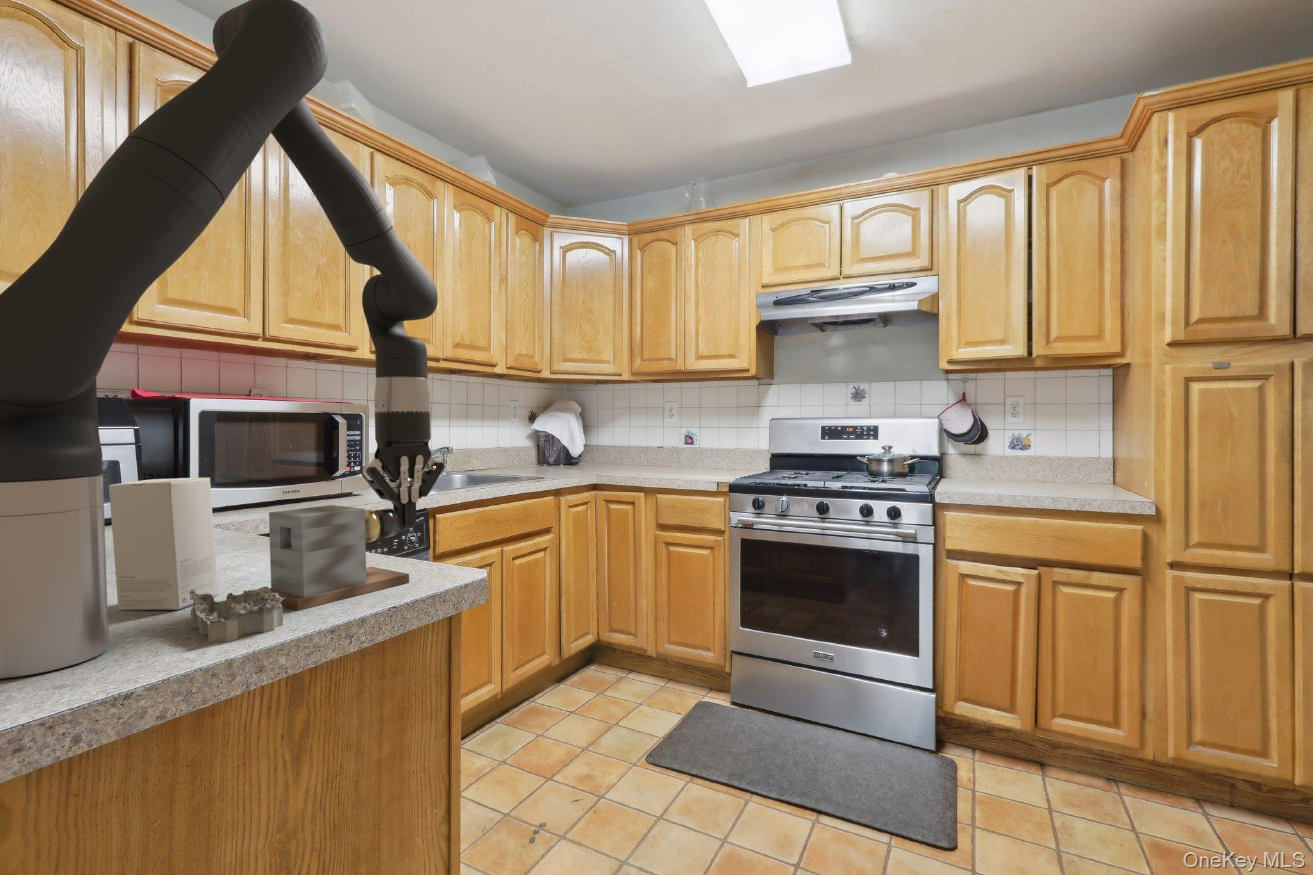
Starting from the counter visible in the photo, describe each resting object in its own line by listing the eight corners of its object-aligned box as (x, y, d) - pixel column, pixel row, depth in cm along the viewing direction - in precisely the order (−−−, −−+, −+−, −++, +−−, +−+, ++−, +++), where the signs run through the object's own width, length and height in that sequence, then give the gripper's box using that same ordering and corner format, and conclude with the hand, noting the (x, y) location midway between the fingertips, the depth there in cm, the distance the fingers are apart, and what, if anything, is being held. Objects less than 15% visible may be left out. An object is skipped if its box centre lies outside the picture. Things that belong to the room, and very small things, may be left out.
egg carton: (186, 626, 69) (185, 589, 69) (264, 611, 75) (263, 577, 75) (205, 648, 62) (204, 607, 62) (290, 630, 67) (289, 592, 67)
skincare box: (219, 597, 80) (215, 476, 80) (175, 612, 74) (170, 481, 73) (160, 596, 81) (156, 477, 81) (111, 611, 75) (106, 482, 74)
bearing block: (297, 610, 74) (295, 518, 73) (261, 599, 79) (258, 513, 78) (409, 582, 86) (407, 503, 86) (371, 574, 91) (369, 499, 91)
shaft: (301, 556, 76) (300, 521, 76) (283, 553, 79) (282, 518, 79) (400, 539, 88) (399, 507, 88) (381, 536, 90) (380, 506, 90)
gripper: (375, 408, 83) (378, 537, 83) (456, 409, 94) (459, 523, 94) (344, 409, 87) (347, 533, 87) (425, 411, 98) (427, 520, 98)
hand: (405, 528), depth 91 cm, fingers closed
